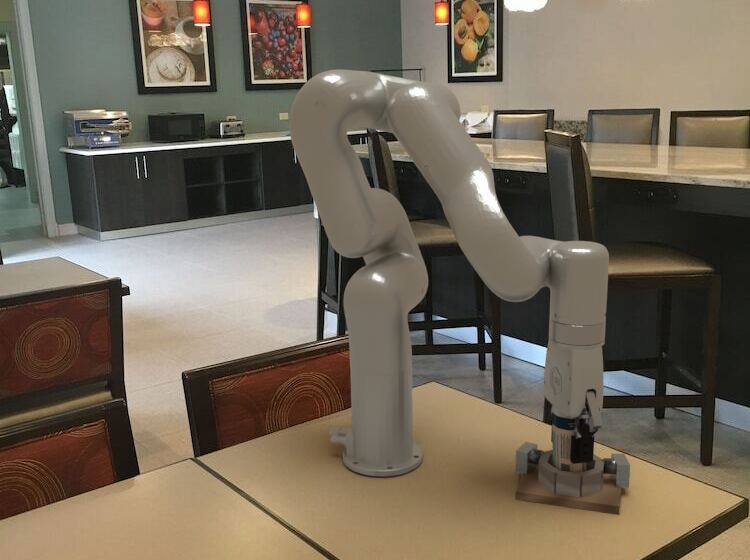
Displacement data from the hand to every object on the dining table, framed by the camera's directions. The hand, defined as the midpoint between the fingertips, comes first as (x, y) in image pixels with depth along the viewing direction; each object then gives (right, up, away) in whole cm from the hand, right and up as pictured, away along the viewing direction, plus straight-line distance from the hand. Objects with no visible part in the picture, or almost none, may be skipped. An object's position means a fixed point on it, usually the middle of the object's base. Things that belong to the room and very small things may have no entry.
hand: (571, 450), depth 113 cm
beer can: (0, -4, +1) cm, 5 cm away
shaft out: (+6, -5, +1) cm, 8 cm away
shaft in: (-5, -4, +5) cm, 8 cm away
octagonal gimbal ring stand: (0, -6, +1) cm, 6 cm away
